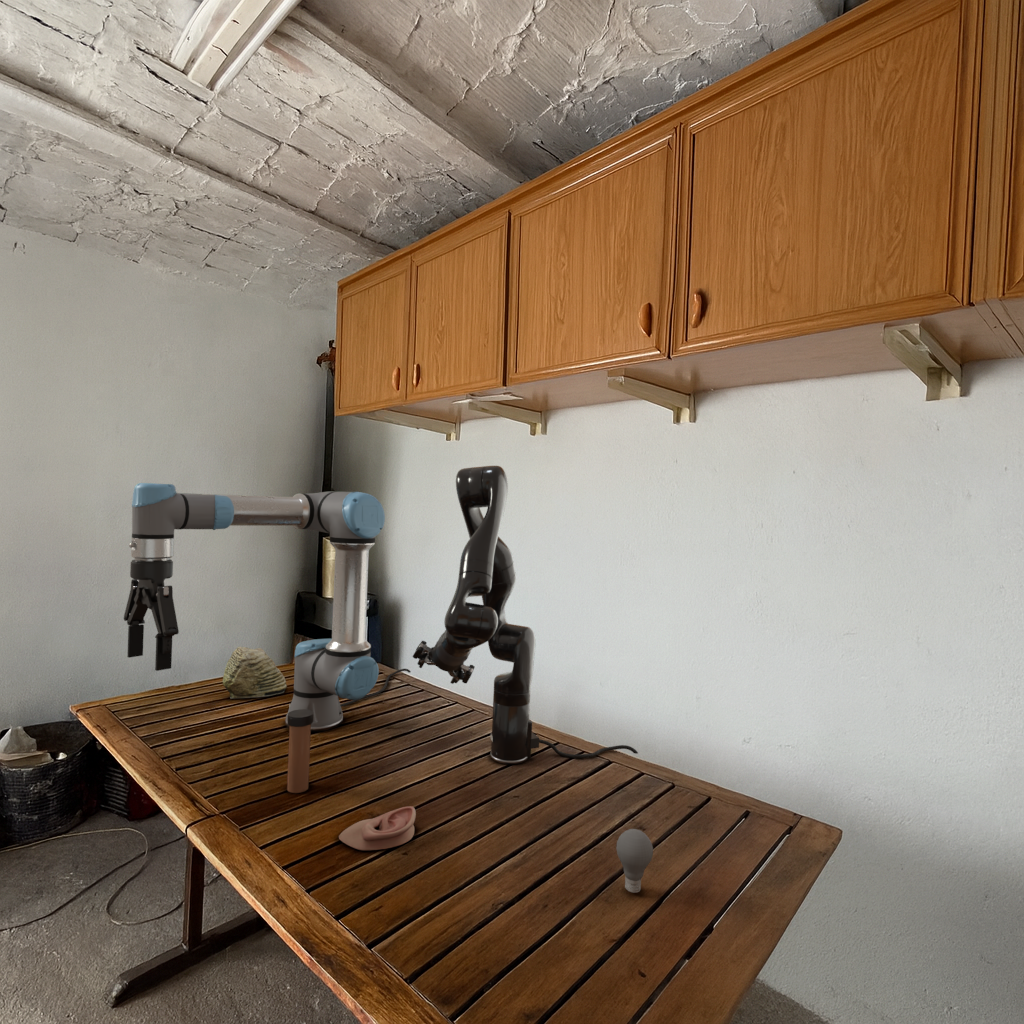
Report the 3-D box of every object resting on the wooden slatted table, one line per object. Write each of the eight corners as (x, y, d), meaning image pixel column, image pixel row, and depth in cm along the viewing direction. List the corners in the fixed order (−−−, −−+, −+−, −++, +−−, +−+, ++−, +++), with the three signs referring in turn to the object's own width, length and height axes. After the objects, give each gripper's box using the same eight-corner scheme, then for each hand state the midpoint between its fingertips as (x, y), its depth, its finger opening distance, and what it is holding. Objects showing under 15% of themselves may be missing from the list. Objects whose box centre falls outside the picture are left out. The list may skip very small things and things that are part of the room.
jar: (288, 794, 134) (291, 719, 134) (285, 785, 138) (288, 713, 138) (310, 790, 136) (313, 717, 136) (306, 782, 140) (309, 710, 140)
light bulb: (610, 879, 108) (613, 822, 108) (644, 879, 109) (647, 822, 109) (619, 902, 102) (622, 840, 102) (655, 901, 103) (658, 840, 103)
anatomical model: (331, 824, 115) (359, 795, 126) (330, 845, 115) (358, 815, 126) (400, 835, 112) (422, 805, 124) (399, 857, 112) (421, 825, 124)
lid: (289, 728, 133) (289, 718, 133) (285, 719, 138) (286, 710, 138) (315, 724, 136) (315, 715, 136) (310, 717, 140) (310, 708, 140)
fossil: (218, 695, 195) (220, 647, 195) (278, 685, 208) (279, 640, 207) (228, 703, 189) (230, 653, 188) (289, 692, 201) (290, 645, 201)
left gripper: (108, 554, 134) (104, 654, 134) (159, 565, 118) (155, 678, 119) (146, 552, 140) (143, 648, 140) (199, 563, 124) (195, 671, 124)
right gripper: (487, 648, 143) (469, 671, 156) (431, 620, 143) (417, 645, 156) (474, 678, 139) (457, 699, 152) (416, 649, 138) (404, 672, 151)
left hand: (148, 662), depth 129 cm, fingers open, 13 cm apart
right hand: (437, 672), depth 154 cm, fingers open, 8 cm apart
